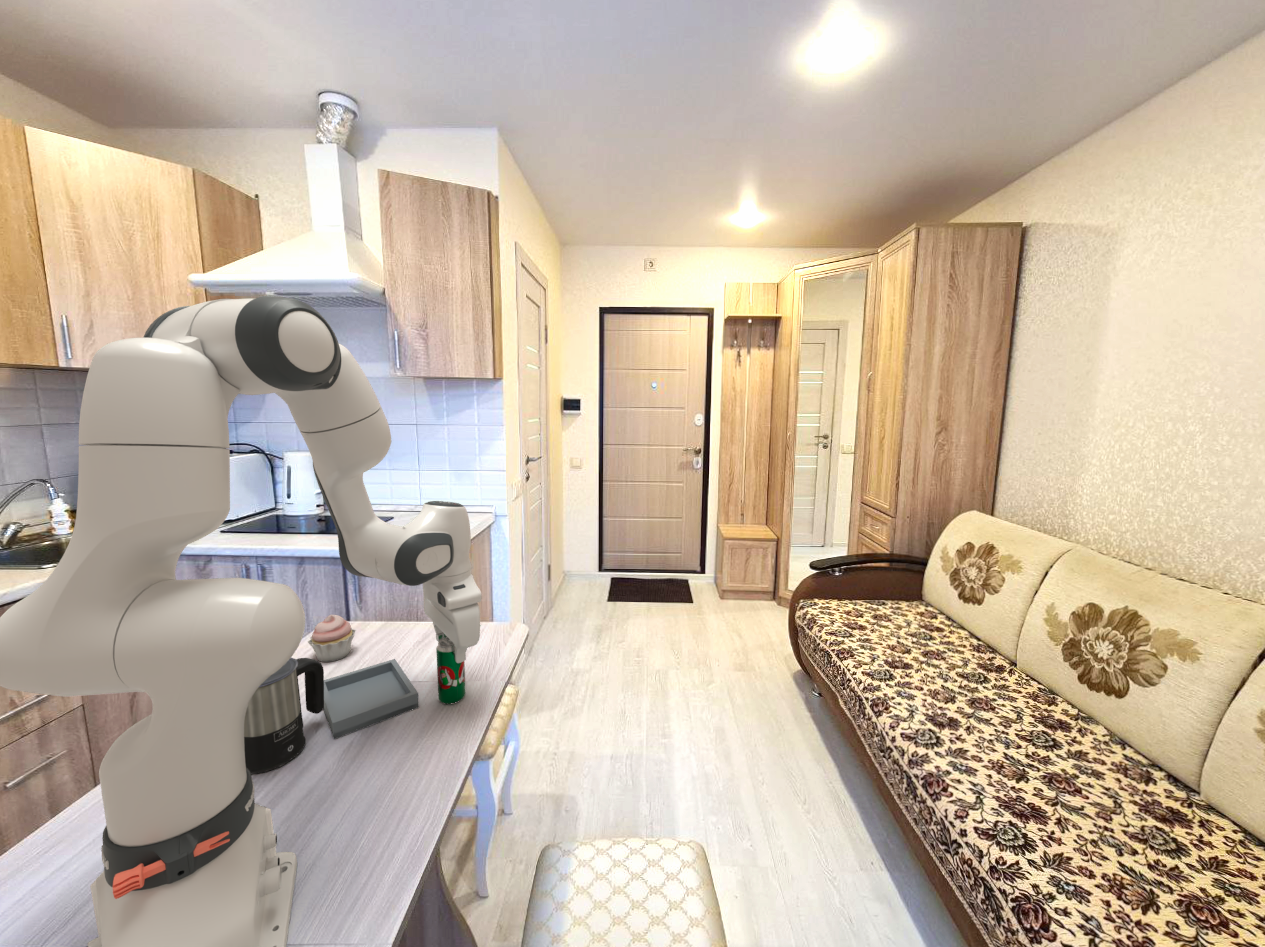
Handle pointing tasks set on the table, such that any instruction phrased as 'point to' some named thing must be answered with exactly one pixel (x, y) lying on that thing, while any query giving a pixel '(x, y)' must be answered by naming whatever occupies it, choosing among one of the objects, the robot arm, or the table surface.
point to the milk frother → (281, 715)
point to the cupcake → (332, 638)
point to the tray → (367, 697)
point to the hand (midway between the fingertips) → (450, 650)
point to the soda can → (449, 673)
